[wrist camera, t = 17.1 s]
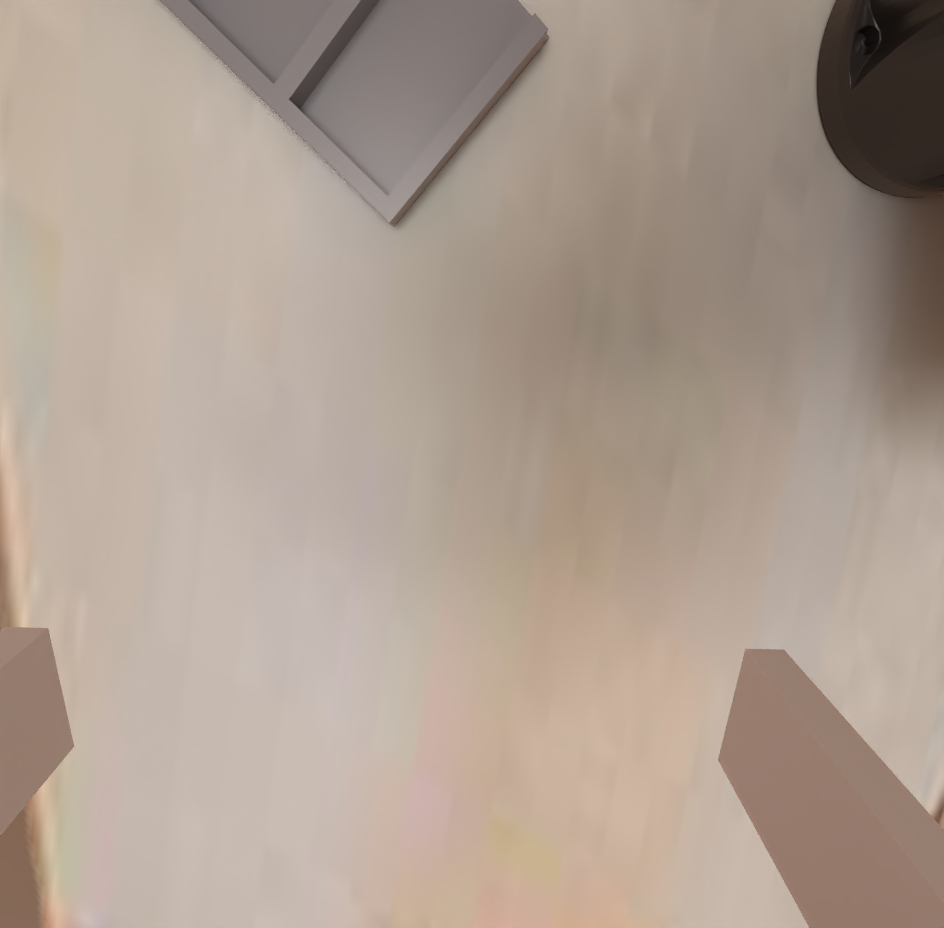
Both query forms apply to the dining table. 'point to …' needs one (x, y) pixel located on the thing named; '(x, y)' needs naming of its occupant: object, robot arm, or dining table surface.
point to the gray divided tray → (373, 77)
